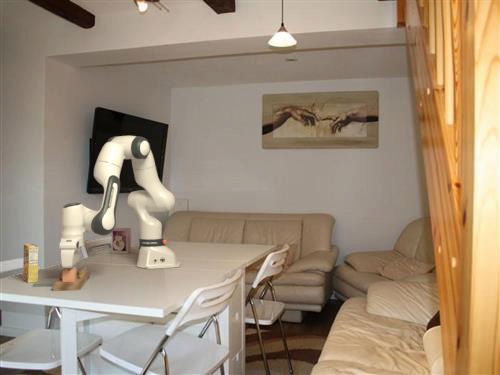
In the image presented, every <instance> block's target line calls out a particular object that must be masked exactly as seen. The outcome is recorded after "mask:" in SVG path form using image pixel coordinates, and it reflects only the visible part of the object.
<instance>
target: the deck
mask: <svg viewBox="0 0 500 375" xmlns="http://www.w3.org/2000/svg"><path fill="white" fill-rule="evenodd" d="M88 268H89V267H88V265H85V266H83V268H82V269H81V270H80V271H77V279H76V280H75V282H63V270H64V269H68V268H63V269H61V271H59V277H58V278H59V280H57V281H56V282H55V283H54V284H53V286H52V291H55V292H56V291H61V292H62V291H80V290H81V289H82V288H83V287H84V285H86V283H87V282H88V280H90V278H91V271H89V270H88Z"/></svg>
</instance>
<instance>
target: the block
mask: <svg viewBox="0 0 500 375" xmlns="http://www.w3.org/2000/svg"><path fill="white" fill-rule="evenodd" d="M63 269H64V268H63ZM63 269H62V270H63ZM77 272H78V268H76V267H75V268H70V269H64V270H63V282H75V280H76V279H77Z"/></svg>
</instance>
